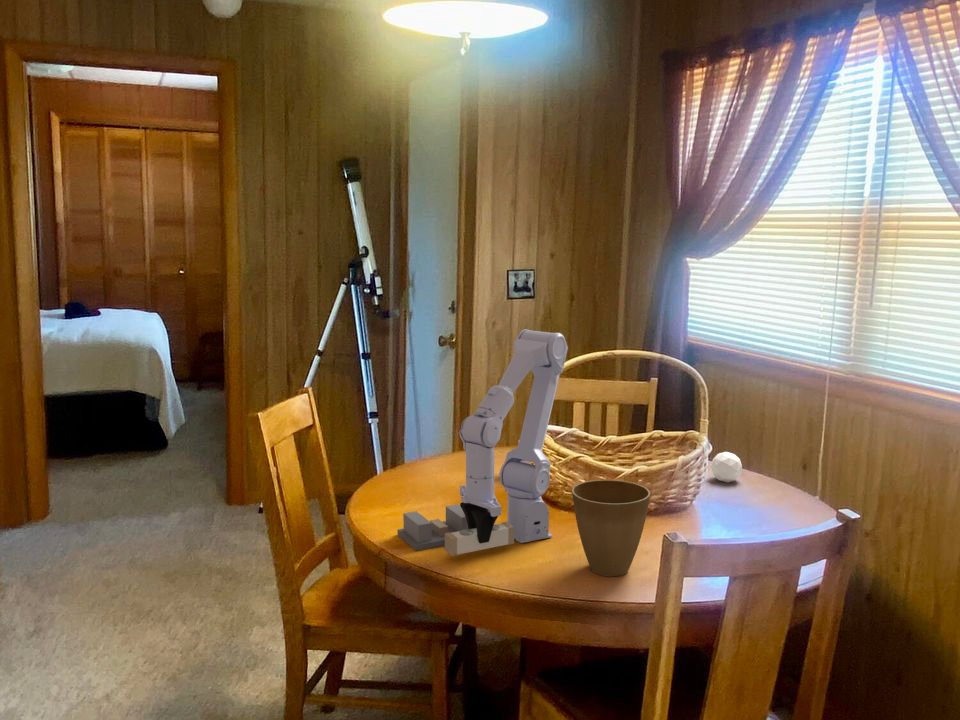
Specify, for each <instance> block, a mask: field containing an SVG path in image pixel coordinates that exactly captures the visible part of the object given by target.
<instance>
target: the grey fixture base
mask: <svg viewBox="0 0 960 720" xmlns="http://www.w3.org/2000/svg"><path fill="white" fill-rule="evenodd" d="M402 515H403V516H402V517H403V528H398V529H397V532H396V533H397V536H398V537H400V539H402V540H403V541H404V542H405V543H406V544H407V545H408V546H410V547H411V548H412V549H413V550H414V551H423V550H428V549H433V548H438V547H445V533H449V532H450V533H453V532H458V531H461V530H465V529H468V530H469V528H468V524H467V520H466V517H465V514H464V512H463V510H462V508H461V506H460V504H452V505H451V504H450V505H446V506H445V520H444V521H442V520H440V519H439V518H437V519H431V520H428V519H427V518H426V517H425V516H423V515H422V514H421V513H419V512H418V511H417V510H416V511H409V512H404V513H403V514H402Z"/></svg>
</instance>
